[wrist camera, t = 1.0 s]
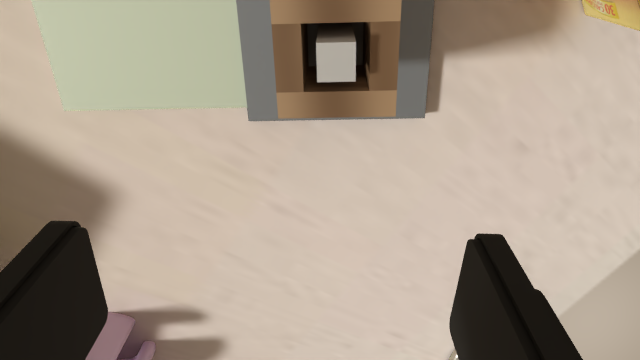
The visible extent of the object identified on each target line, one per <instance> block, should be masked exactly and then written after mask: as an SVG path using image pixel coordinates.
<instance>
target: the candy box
mask: <svg viewBox="0 0 640 360" xmlns="http://www.w3.org/2000/svg"><path fill="white" fill-rule="evenodd" d="M582 3H583V7H584V12H585V14H586V15H588V16H591V17H595V18H598V19H602V20H605V21H608V22H612V23H615V24H618V25H622V26H625V27H628V28H632V29H635V30H639V31H640V0H582Z"/></svg>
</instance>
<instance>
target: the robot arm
mask: <svg viewBox="0 0 640 360" xmlns="http://www.w3.org/2000/svg"><path fill="white" fill-rule="evenodd" d="M107 317H108V308H107V304H106V300H105V296H104V292H103V289H102V285H101V281H100V277H99V273H98V269H97V266H96V262H95V258H94V254H93V250H92V246H91V243H90V239H89V235H88V232H87V230H86V229H85V228H81V226H80V224H79V223H78V222H75V221H50V222H49V223H48V224H46V225H45V227H44V228H43V229H42V230H41V231H40V232H39V233H38V234H37V235H36V236H35V237H34V238H33V239H32V240H31V241H30V242H29V243H28V244H27V245H26V246H25V247H24V248H23V249H22V250H21V252H20V253H19V254H18V255H17V256H16V257H15V258H14V259H13V260H12V261H11V262H10V263H9V264H8V265H7V266H6V267H5V268H4V269H3V270H2V271H1V272H0V360H85V359H86V357H87V356H88V354H89V352H90V350H91V349H92V347H93V345H94V343H95V341H96V340H97V338H98V336H99V334H100V333H101V331H102V329H103V327H104V326H105V324H106V321H107ZM450 333H451V337H452V340H453V343H454V346H455V350H454V352H453V353H452V354H451V356H450V358H449V360H583V359H582V358H581V356H580V354H579V353H578V351H577V349H576V348H575V346H574V344H573V343H572V341H571V339H570V338H569V336H568V334H567V333H566V331H565V329H564V328H563V326H562V324H561V323H560V321H559V319H558V318H557V316H556V314H555V313H554V311H553V309H552V308H551V306H550V304H549V303H548V301H547V299H546V298H545V296H544V295H543V294H542V292H541V291H539V290H537V289H534V287H533V286H532V284H531V282H530V281H529V279H528V277H527V275H526V274H525V272H524V270H523V269H522V267H521V265H520V263H519V262H518V260H517V258H516V257H515V255H514V253H513V251H512V250H511V248H510V246H509V245H508V243H507V241H506V240H505V238H504V237H503V235H501V234H477V235H476V236H475V239H469V240H468V242H467V245H466V249H465V254H464V258H463V263H462V267H461V272H460V276H459V281H458V285H457V290H456V294H455V298H454V303H453V307H452V312H451V316H450Z"/></svg>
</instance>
